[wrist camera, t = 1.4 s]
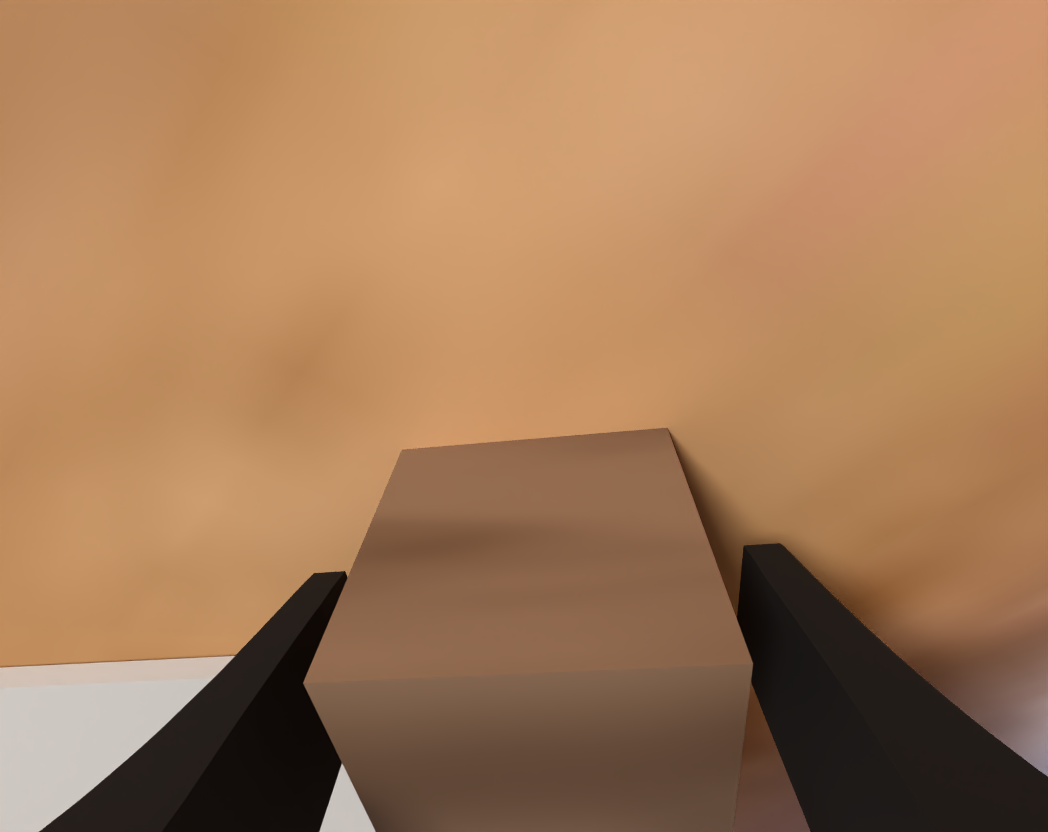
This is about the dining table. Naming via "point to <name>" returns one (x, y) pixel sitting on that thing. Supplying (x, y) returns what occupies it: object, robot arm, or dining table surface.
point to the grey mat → (102, 733)
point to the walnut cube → (537, 645)
